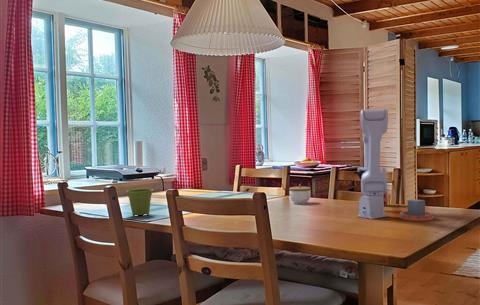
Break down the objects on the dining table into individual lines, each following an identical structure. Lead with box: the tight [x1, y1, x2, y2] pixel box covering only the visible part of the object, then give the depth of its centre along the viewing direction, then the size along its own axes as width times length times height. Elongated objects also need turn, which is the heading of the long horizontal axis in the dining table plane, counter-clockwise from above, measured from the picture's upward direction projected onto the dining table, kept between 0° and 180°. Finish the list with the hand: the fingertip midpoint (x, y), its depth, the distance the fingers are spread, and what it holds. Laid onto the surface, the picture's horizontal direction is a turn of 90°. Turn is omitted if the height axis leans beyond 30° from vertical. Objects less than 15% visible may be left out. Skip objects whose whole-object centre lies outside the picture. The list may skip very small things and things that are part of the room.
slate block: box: [407, 198, 426, 215], centre depth 180 cm, size 4×4×6 cm
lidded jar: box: [288, 183, 312, 205], centre depth 231 cm, size 11×11×9 cm
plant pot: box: [125, 188, 154, 216], centre depth 208 cm, size 12×12×11 cm
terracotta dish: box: [399, 210, 434, 222], centre depth 180 cm, size 12×12×2 cm
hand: (371, 189), depth 202 cm, fingers open, 7 cm apart
